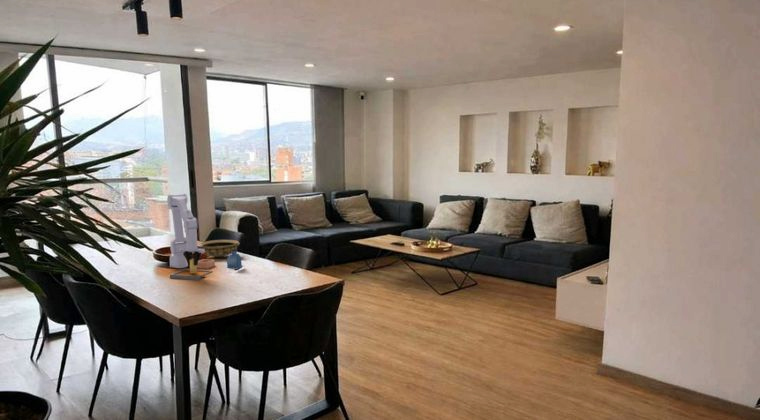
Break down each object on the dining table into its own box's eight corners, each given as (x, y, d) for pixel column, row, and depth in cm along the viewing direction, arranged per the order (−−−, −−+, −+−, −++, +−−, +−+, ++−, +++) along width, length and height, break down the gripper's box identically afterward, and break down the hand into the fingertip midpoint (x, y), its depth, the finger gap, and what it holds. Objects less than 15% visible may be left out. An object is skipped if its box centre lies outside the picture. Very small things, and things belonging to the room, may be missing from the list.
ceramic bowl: (230, 251, 339) (229, 237, 338) (250, 256, 323) (249, 241, 322) (188, 258, 317) (187, 243, 316) (207, 264, 301) (206, 248, 300)
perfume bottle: (241, 267, 294) (241, 247, 292) (237, 270, 288) (236, 250, 286) (231, 267, 294) (230, 247, 293) (227, 270, 288) (226, 249, 287)
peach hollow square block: (195, 270, 287) (195, 261, 287) (203, 267, 295) (203, 259, 294) (207, 271, 285) (207, 262, 285) (215, 268, 293) (214, 259, 292)
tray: (170, 278, 270) (169, 274, 270) (184, 272, 283) (184, 268, 282) (199, 280, 266) (198, 276, 265) (212, 274, 278) (212, 270, 278)
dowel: (188, 273, 273) (188, 259, 272) (192, 271, 276) (191, 258, 275) (194, 273, 272) (193, 260, 271) (197, 272, 275) (196, 259, 274)
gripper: (175, 241, 269) (176, 265, 271) (198, 242, 266) (200, 267, 268) (183, 239, 276) (184, 263, 278) (206, 240, 273) (207, 264, 274)
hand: (192, 265), depth 273 cm, fingers closed on dowel, 3 cm apart
